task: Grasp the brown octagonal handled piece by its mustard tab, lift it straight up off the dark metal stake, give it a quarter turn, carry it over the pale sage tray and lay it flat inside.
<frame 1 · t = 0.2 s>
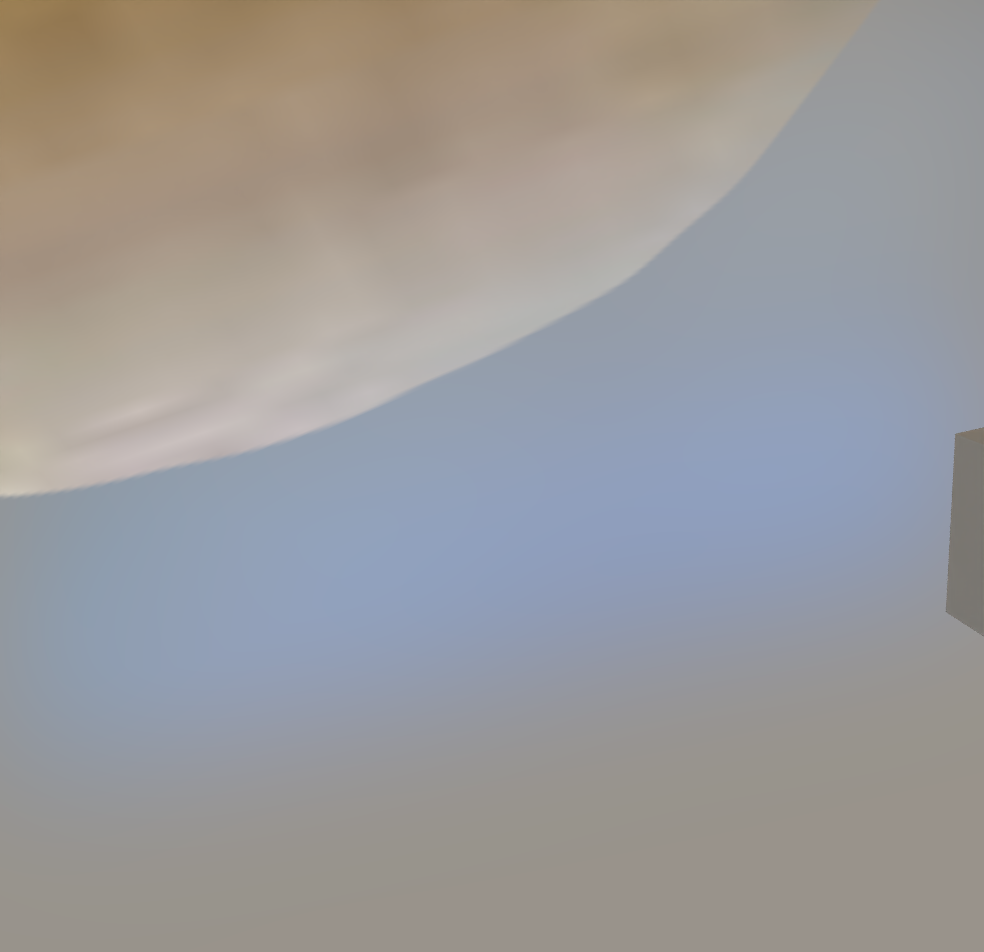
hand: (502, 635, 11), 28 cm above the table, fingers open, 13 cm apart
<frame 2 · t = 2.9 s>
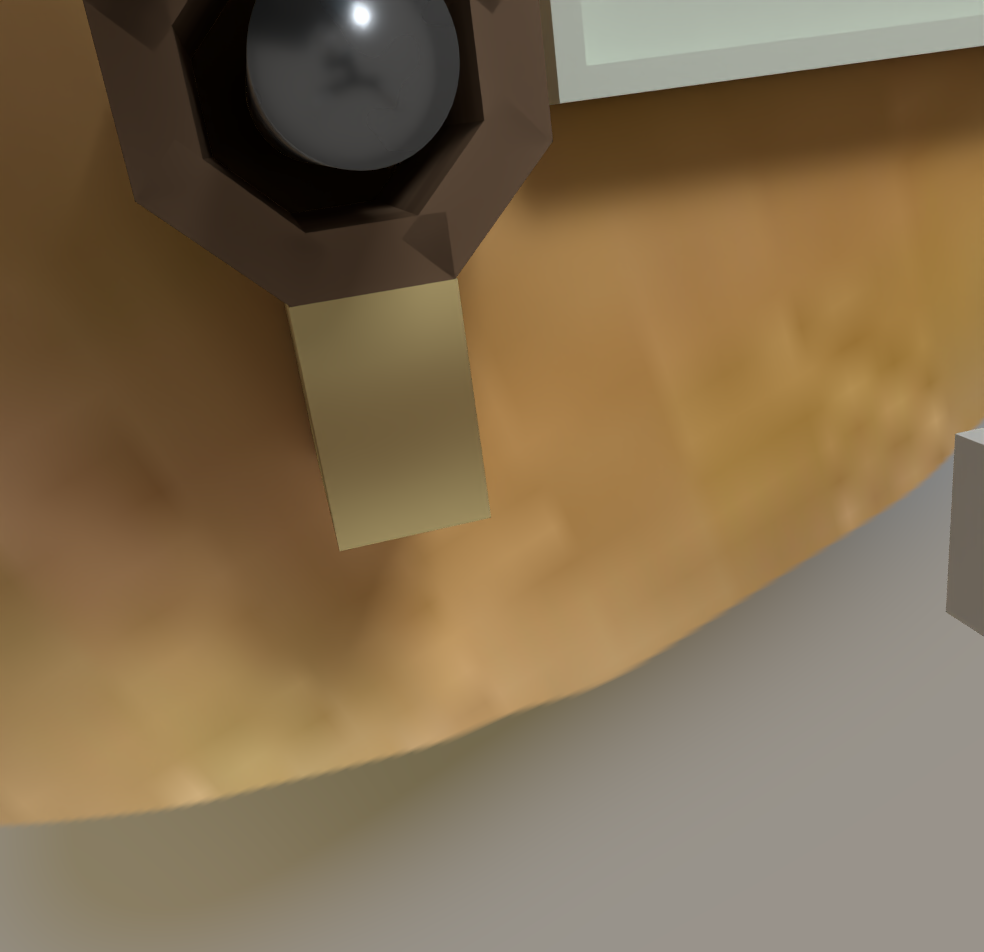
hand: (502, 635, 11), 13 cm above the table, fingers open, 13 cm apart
stake: (312, 95, 21), on the table
brown octagonal handled piece: (312, 95, 21), on the table
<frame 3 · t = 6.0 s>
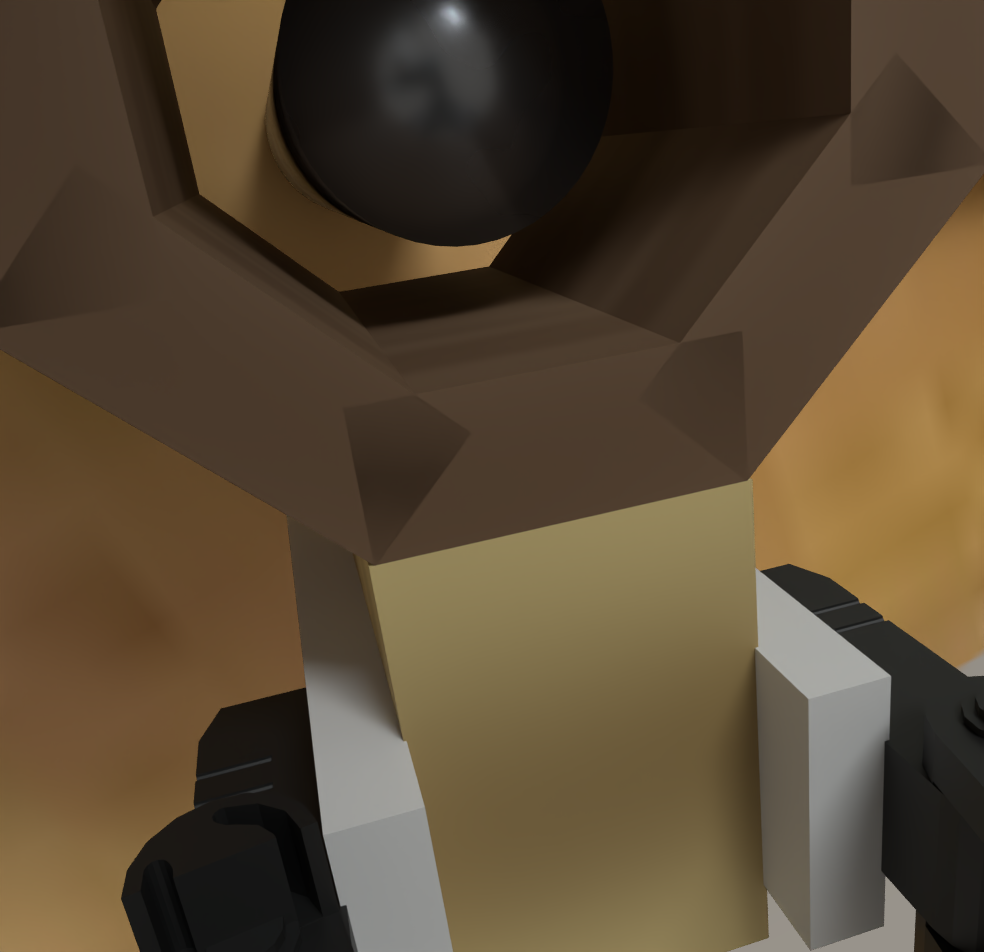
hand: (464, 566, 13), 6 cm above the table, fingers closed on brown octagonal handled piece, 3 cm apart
stake: (351, 126, 16), on the table
brown octagonal handled piece: (383, 78, 11), point 5 cm above the table, touching gripper
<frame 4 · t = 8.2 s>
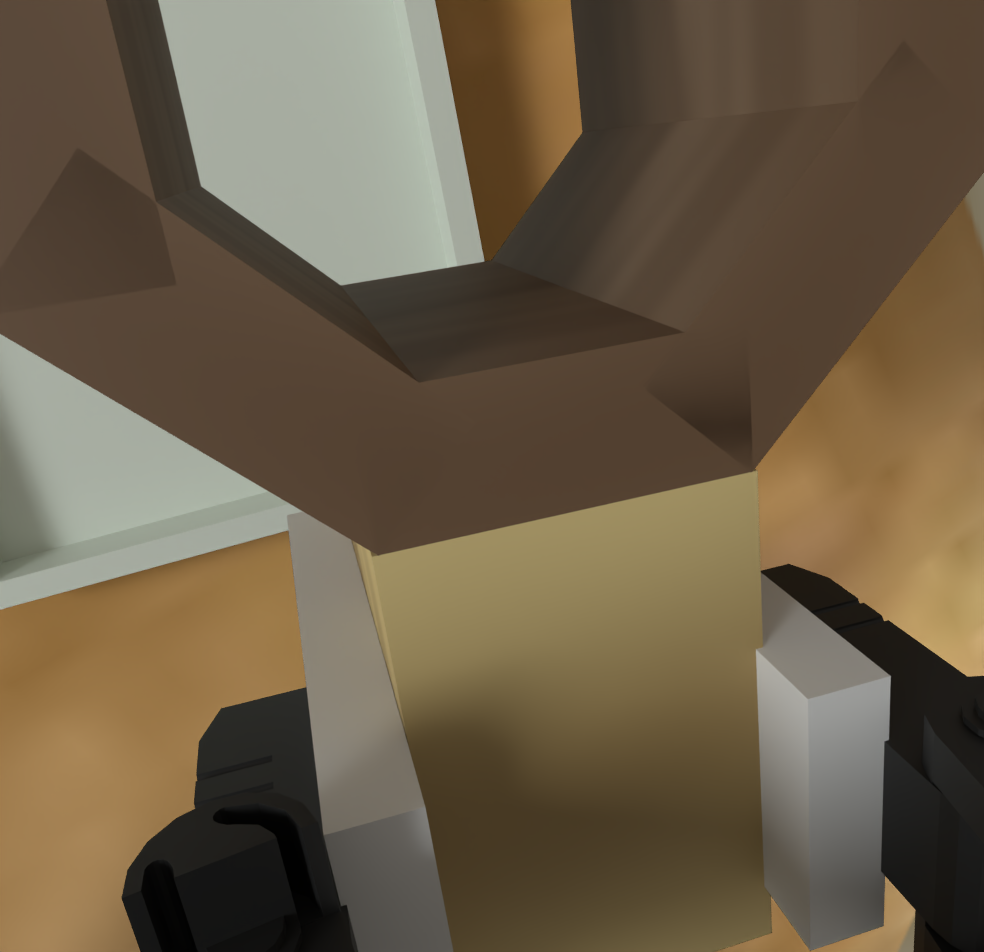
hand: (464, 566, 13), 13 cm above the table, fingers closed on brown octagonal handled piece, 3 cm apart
tray: (154, 170, 22), on the table
brown octagonal handled piece: (385, 70, 11), point 12 cm above the table, touching gripper
when the fingers open (2 cm above the table, at t = 10.7 s): brown octagonal handled piece stays where it is, resting on tray.
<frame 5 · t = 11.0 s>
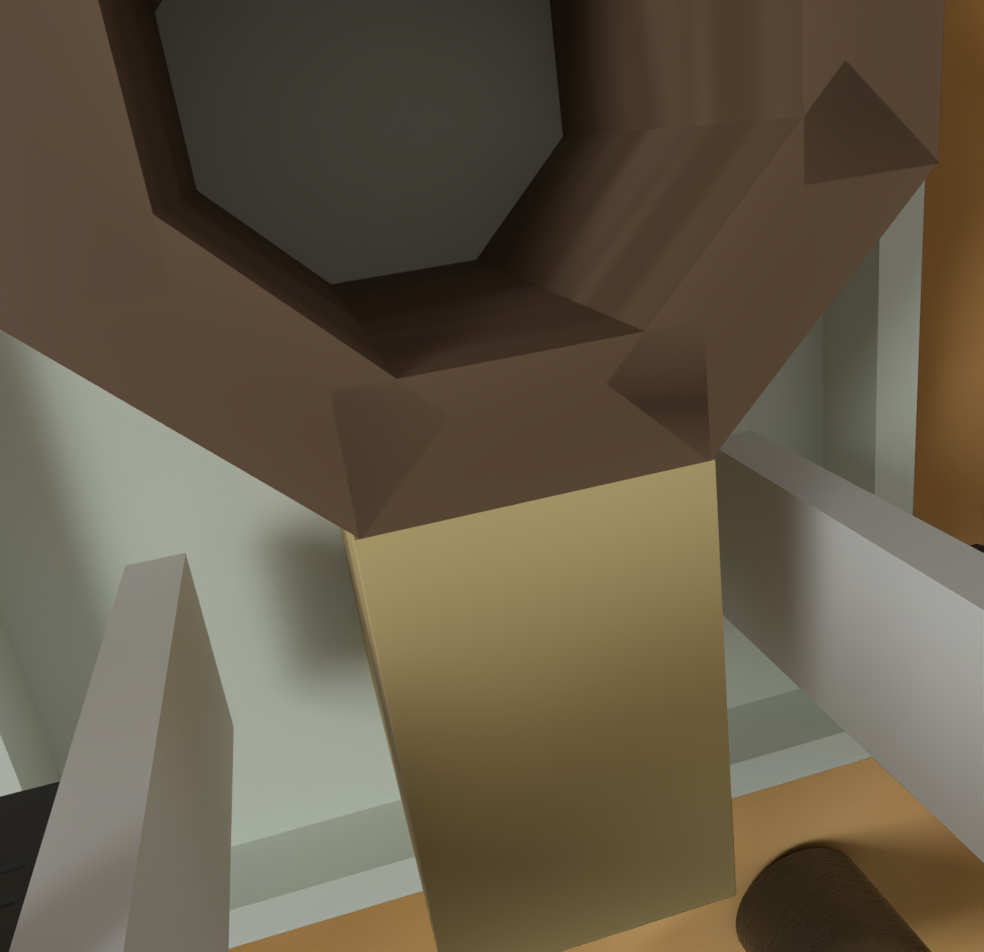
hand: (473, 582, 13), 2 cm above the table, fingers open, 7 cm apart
tray: (403, 280, 13), on the table
stake: (799, 905, 20), on the table
brown octagonal handled piece: (373, 78, 12), point 1 cm above the table, touching tray
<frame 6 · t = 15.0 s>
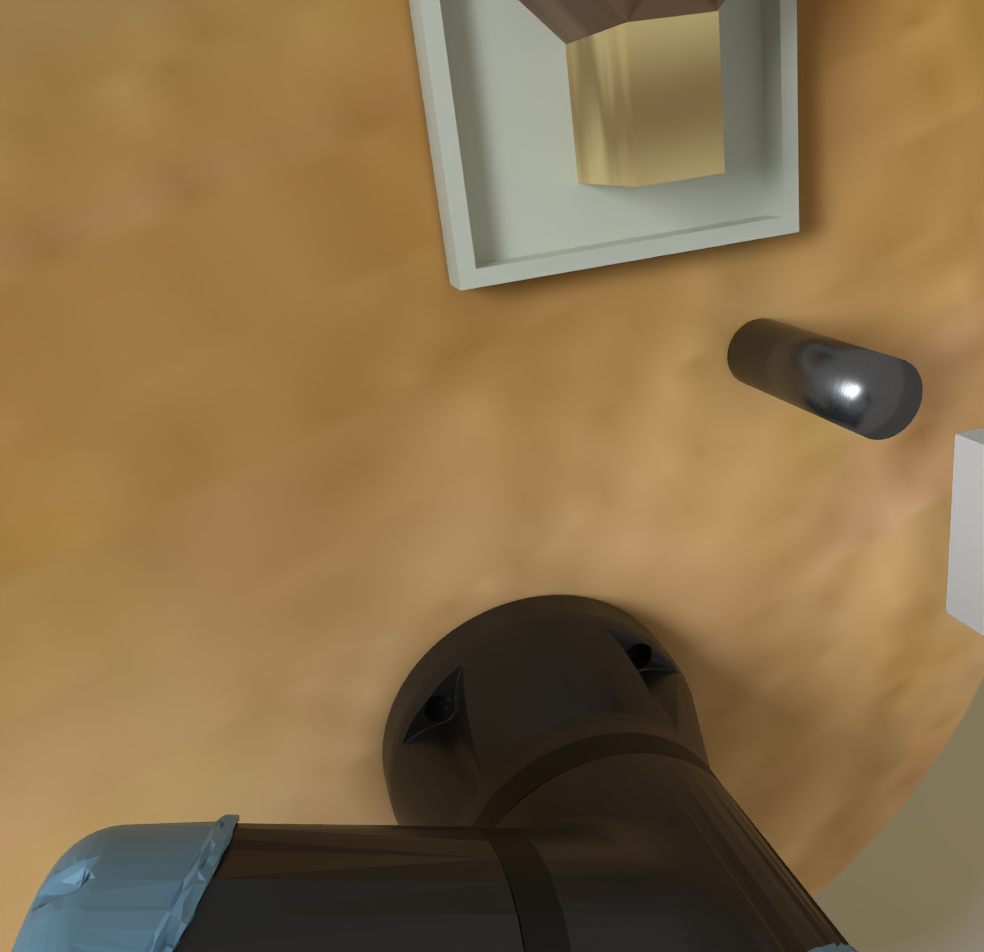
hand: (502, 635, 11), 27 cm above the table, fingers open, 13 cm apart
tray: (597, 11, 35), on the table
stake: (757, 352, 41), on the table
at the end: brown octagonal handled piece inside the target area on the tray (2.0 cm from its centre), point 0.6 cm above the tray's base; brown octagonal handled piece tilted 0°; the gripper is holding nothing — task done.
